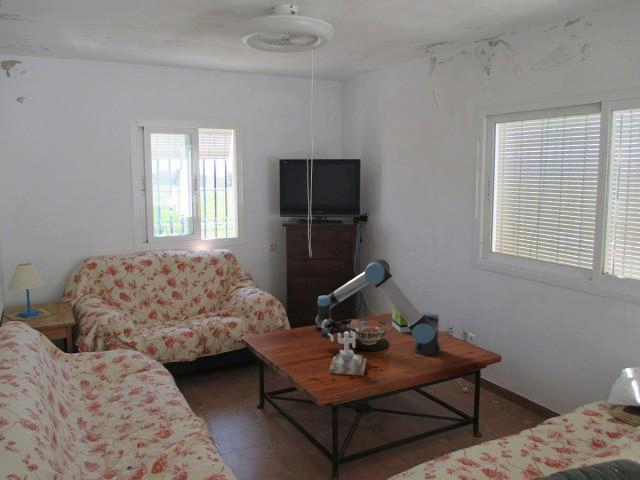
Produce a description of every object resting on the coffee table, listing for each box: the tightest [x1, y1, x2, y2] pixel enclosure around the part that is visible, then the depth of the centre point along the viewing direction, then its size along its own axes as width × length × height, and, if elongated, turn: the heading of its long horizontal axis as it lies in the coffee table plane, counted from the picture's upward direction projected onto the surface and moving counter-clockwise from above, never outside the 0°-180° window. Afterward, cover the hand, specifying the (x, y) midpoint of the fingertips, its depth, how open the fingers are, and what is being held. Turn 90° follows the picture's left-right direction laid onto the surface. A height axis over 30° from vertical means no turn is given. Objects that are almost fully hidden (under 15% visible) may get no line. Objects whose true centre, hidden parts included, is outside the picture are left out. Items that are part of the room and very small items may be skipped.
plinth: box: [328, 353, 367, 376], centre depth 279 cm, size 18×18×5 cm
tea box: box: [391, 305, 412, 334], centre depth 344 cm, size 15×10×15 cm, turn 14°
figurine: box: [337, 331, 356, 361], centre depth 277 cm, size 7×9×15 cm
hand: (344, 337), depth 281 cm, fingers open, 13 cm apart
